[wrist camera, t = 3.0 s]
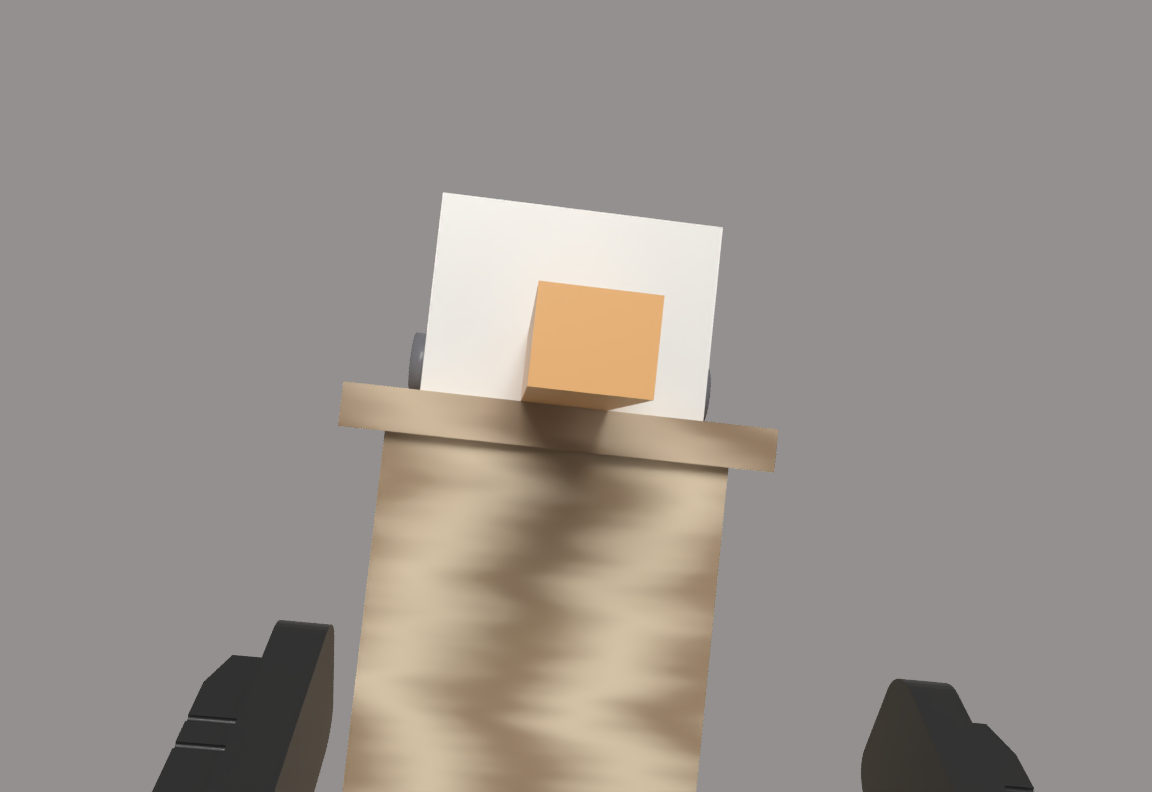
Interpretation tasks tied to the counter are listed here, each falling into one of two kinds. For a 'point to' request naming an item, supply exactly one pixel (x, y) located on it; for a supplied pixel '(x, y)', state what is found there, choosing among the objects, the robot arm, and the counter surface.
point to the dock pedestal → (537, 594)
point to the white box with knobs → (570, 308)
